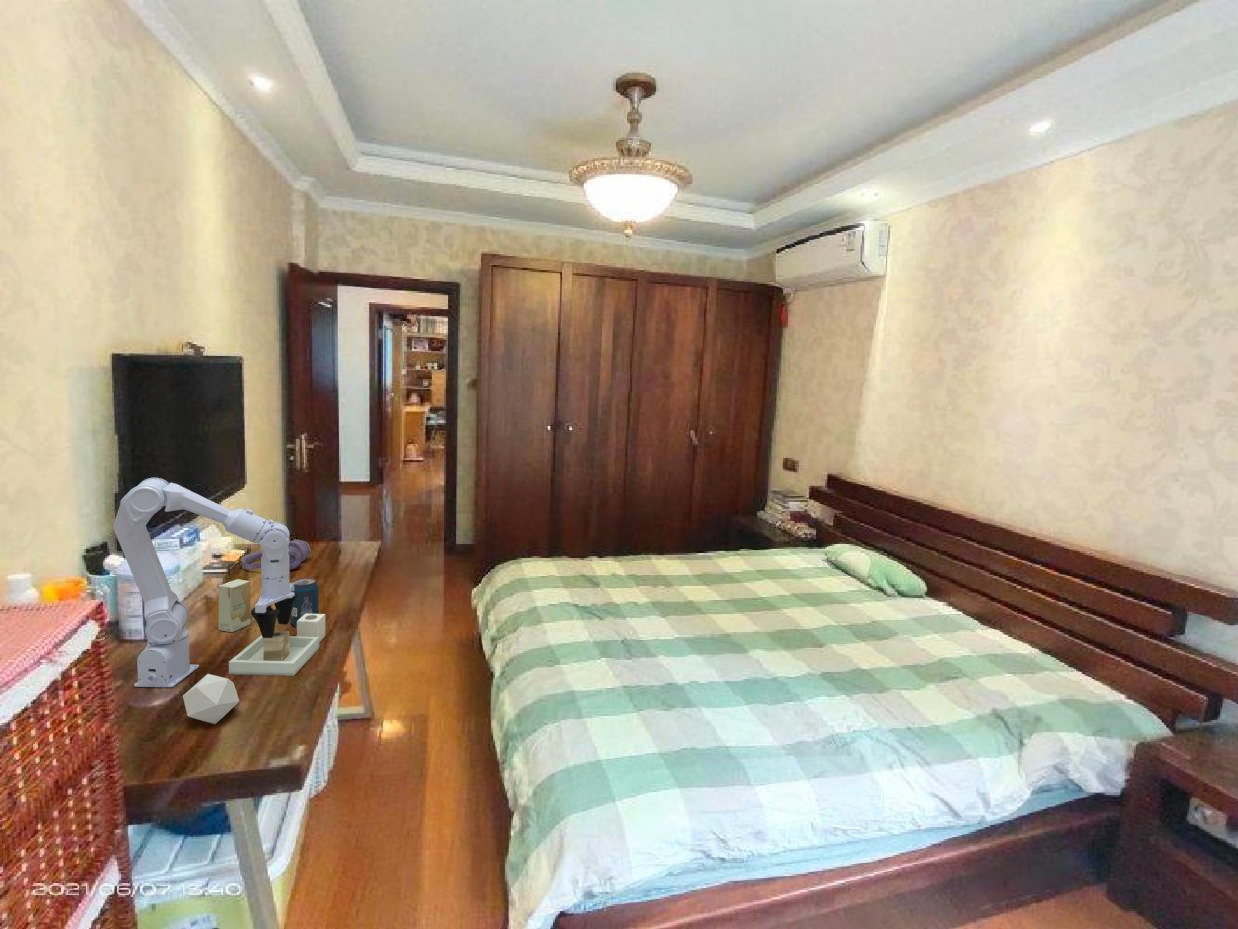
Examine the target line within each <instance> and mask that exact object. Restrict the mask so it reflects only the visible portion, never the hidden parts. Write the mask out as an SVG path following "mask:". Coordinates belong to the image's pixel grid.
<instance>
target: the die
mask: <svg viewBox="0 0 1238 929" xmlns="http://www.w3.org/2000/svg"><path fill="white" fill-rule="evenodd" d="M182 698H183V702H184V706H185V710H186V715H187V716H188V717H189V718H192V719H195V720H199V721H202V722H206V723H209V724H213V725H216V724H218V722H219V721H220V720H222V719H223V718H224V717H225V716H226V715H227V714H228V713H229V712H230V711H231V710H232V709H233V708H234V707H236V706H237V704H239V702H240V698H239V695H238V691H237V689H236V687H235V683H234V682H233V681H232V680H231V679H229V678H226V677H221V676H218V675H214V674H210V673H207V674H206V675H204V676H203V677H202V678H201V679H200V680H199V681H198V682H196V684H195V685H193V686H192V687H191V688H190V689H188V691H187V692H185V693H183V695H182Z"/></svg>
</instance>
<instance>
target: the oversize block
mask: <svg viewBox="0 0 1238 929" xmlns="http://www.w3.org/2000/svg"><path fill="white" fill-rule="evenodd" d="M296 636H299V637H319V643H320V642H321V641H322V640H323V639H324V638H325V637H326V613H319V614H304V615H303V616H302V617H301V618H300V619H299V620H298V621H297V627H296Z"/></svg>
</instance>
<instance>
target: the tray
mask: <svg viewBox="0 0 1238 929" xmlns="http://www.w3.org/2000/svg"><path fill="white" fill-rule="evenodd" d="M319 649H320V642H319V637H299V636H297V635H296V636H295V635H294V636H292V635H289V656H288V657H287V658H285V659H284V660H283V661H264V657H263V637H262V635H260V636H258V637H257V638H256V639H255V640H253V641H252V642H251V643H250V644H248V645H247V646H246V647H245V648H244V649H243V650H241V651H240V652H239V653H237V655H235V656H234V657H233V658H231V659H230V660H229V661H228V675H235V676H236V675H237V676H238V675H242V676H243V675H246V676H277V677H278V676H284V677H286V676H288V677H294V676H295V675H296V674H297V673H298V672H299V670H301V668H302V667H303V666H305V664H306V663H307V662H309V660H310V659H311V658H312V657H313V656H314V654H315V653H317V651H319Z"/></svg>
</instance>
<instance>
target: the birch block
mask: <svg viewBox="0 0 1238 929" xmlns="http://www.w3.org/2000/svg"><path fill="white" fill-rule="evenodd" d="M289 636H290V631H289V630H274V635H273V637H272V638H263V657H264V661H283V660H284V659H285V658H287V657H288V656H289Z"/></svg>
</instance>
